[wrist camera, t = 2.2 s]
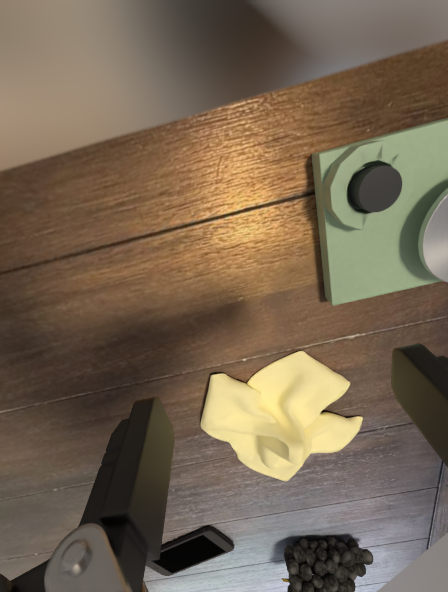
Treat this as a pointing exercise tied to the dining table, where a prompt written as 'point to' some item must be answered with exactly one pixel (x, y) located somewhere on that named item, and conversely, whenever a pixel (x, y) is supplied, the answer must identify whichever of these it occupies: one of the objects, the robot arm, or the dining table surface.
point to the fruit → (325, 565)
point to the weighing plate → (435, 239)
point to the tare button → (375, 188)
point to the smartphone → (191, 551)
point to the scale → (378, 225)
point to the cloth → (279, 414)
